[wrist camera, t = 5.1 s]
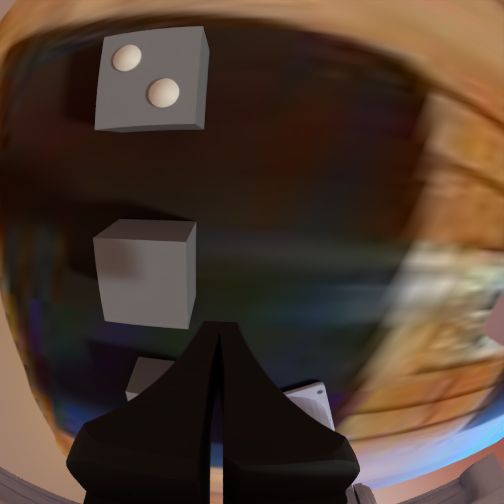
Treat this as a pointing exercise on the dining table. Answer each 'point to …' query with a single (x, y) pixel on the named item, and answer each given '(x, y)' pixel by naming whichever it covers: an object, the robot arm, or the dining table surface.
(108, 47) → the dotted block
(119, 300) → the plain block
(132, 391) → the barred block
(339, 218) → the dining table surface
